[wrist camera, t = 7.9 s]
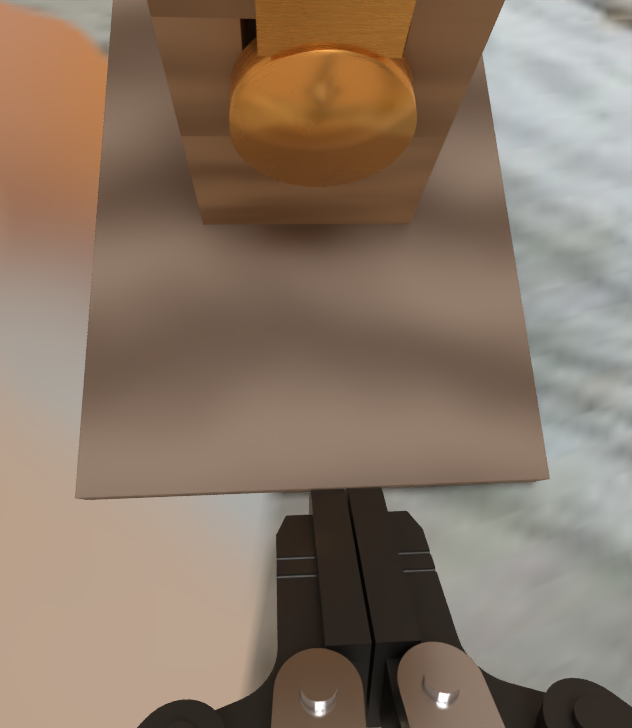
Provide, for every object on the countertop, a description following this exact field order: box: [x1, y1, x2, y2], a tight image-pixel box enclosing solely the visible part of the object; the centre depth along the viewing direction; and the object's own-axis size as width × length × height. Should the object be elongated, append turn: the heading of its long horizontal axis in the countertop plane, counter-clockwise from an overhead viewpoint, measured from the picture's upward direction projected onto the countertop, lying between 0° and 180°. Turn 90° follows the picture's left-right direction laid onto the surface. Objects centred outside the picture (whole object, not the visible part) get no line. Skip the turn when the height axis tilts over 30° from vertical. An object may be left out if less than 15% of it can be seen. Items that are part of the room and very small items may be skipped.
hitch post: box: [75, 0, 550, 500], centre depth 15 cm, size 22×16×17 cm
